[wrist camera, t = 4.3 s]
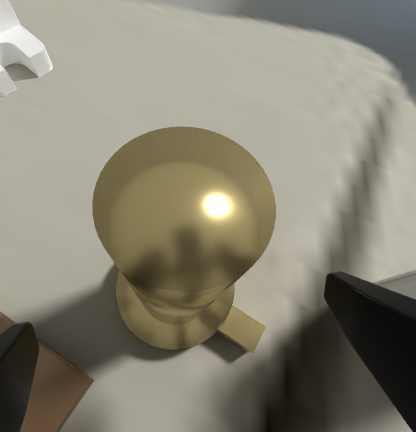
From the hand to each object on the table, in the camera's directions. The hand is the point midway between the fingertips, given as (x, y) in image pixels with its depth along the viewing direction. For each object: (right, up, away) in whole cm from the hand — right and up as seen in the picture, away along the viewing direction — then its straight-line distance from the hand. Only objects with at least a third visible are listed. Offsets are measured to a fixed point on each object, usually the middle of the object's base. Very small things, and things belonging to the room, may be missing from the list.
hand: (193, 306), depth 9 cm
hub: (-1, -2, +9) cm, 10 cm away
